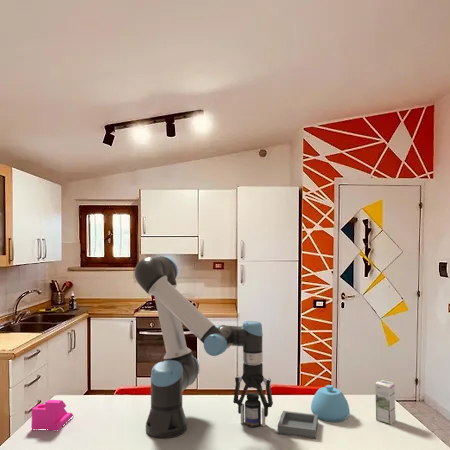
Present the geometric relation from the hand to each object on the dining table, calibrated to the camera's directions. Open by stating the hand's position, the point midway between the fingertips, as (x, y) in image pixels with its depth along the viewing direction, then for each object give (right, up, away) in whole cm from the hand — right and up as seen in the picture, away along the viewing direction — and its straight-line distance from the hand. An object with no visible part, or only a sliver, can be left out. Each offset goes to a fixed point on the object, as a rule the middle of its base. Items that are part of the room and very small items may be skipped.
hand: (253, 423), depth 151 cm
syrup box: (+52, -1, +3) cm, 52 cm away
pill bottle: (0, 0, 0) cm, 0 cm away
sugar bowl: (+32, -1, +8) cm, 33 cm away
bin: (+17, 0, -3) cm, 17 cm away
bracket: (-77, -1, +1) cm, 77 cm away
